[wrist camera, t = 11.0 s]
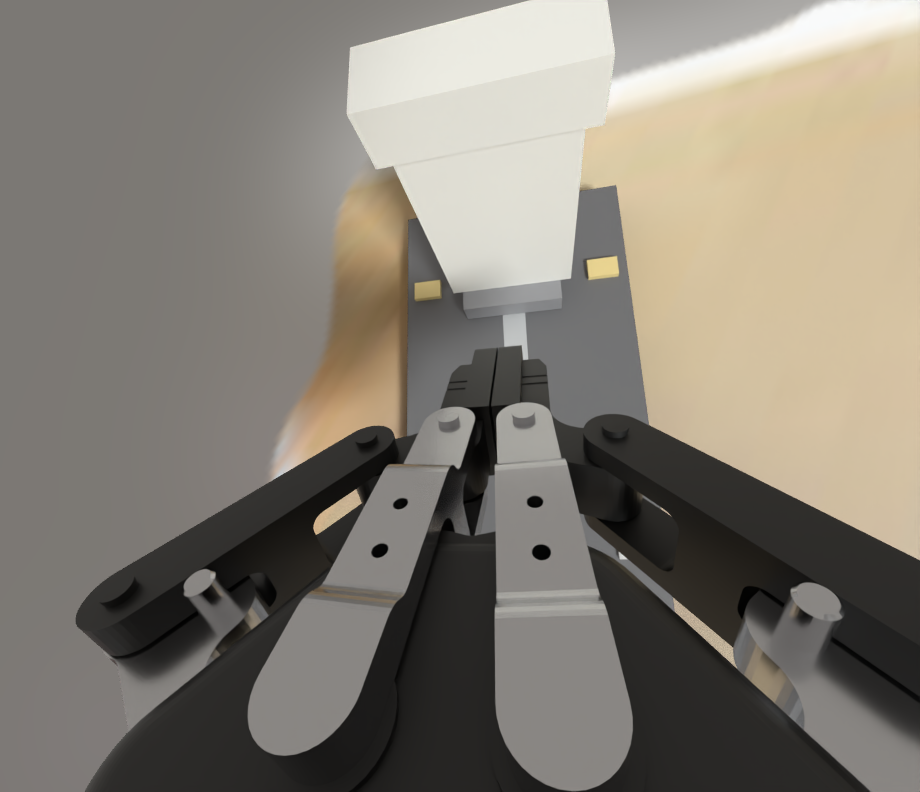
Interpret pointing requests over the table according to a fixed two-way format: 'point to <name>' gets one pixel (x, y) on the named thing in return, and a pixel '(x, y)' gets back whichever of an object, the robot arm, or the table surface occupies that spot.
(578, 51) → the fader tab
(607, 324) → the fader console
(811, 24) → the table surface
